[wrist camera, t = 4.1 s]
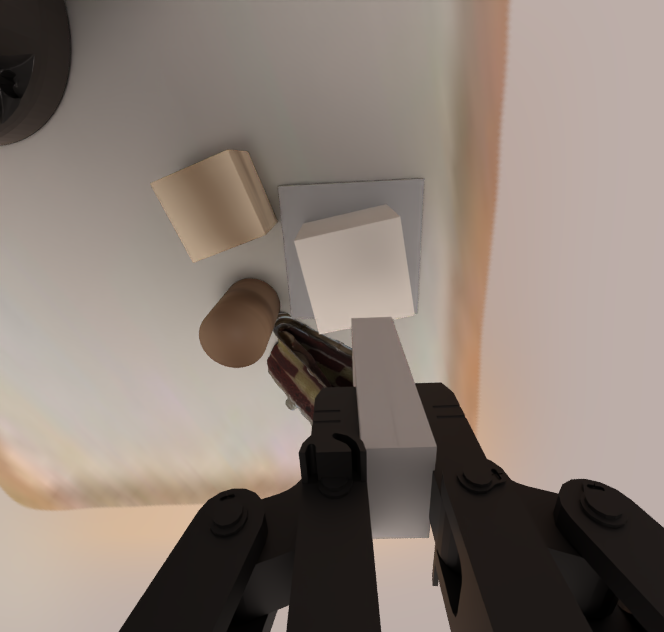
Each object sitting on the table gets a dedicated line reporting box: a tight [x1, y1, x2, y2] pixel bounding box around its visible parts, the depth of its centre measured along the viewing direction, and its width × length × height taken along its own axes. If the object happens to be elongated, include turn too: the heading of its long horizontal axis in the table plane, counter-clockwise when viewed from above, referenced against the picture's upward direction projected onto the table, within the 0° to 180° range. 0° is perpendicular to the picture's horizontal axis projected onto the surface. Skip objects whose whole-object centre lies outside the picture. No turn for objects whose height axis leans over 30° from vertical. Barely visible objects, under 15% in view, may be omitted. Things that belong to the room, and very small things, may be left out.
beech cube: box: [150, 150, 278, 263], centre depth 23 cm, size 5×5×5 cm
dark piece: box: [267, 313, 354, 425], centre depth 30 cm, size 10×7×12 cm
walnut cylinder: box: [199, 278, 280, 368], centre depth 26 cm, size 4×4×6 cm
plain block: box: [294, 204, 415, 334], centre depth 23 cm, size 6×6×6 cm
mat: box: [278, 178, 424, 319], centre depth 27 cm, size 10×10×1 cm
